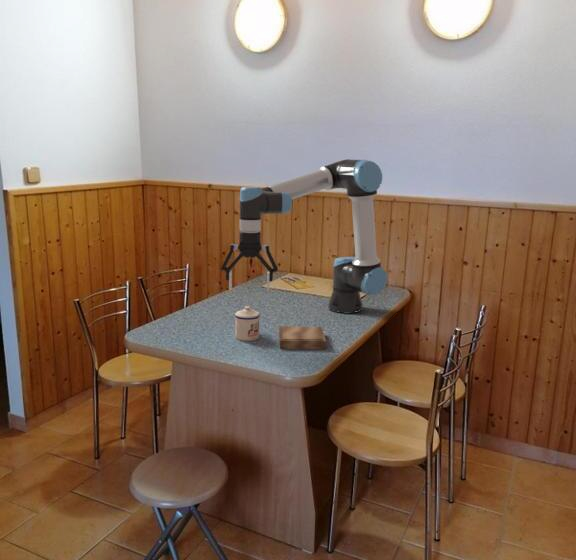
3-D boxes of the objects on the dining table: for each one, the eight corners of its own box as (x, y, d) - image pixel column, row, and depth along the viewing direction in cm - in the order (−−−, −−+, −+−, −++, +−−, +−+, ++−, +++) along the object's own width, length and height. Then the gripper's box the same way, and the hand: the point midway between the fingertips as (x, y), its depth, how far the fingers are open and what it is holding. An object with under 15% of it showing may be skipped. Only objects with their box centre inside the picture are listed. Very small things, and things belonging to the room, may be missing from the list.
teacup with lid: (250, 343, 196) (251, 311, 193) (229, 338, 200) (229, 307, 197) (268, 333, 206) (268, 304, 203) (247, 329, 210) (247, 300, 207)
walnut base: (321, 334, 207) (321, 326, 206) (325, 349, 191) (326, 340, 191) (278, 333, 206) (279, 325, 205) (279, 348, 191) (280, 339, 190)
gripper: (285, 230, 198) (283, 287, 203) (215, 228, 197) (215, 286, 202) (285, 233, 191) (284, 292, 196) (213, 231, 190) (213, 291, 195)
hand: (249, 289), depth 199 cm, fingers open, 13 cm apart
